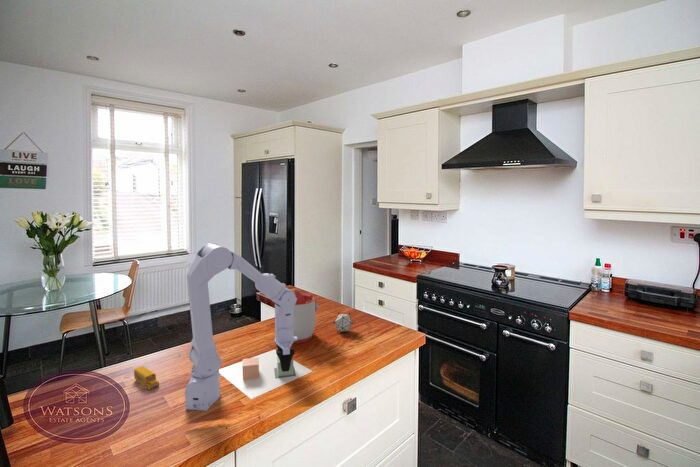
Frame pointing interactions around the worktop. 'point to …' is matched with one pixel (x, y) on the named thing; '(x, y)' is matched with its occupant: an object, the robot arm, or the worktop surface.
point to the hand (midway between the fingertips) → (284, 366)
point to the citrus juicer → (304, 316)
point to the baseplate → (261, 375)
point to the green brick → (285, 371)
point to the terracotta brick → (250, 368)
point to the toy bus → (146, 377)
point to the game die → (343, 322)
